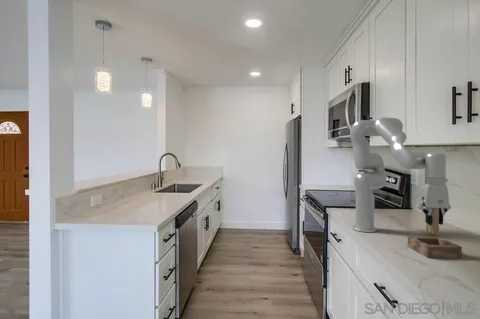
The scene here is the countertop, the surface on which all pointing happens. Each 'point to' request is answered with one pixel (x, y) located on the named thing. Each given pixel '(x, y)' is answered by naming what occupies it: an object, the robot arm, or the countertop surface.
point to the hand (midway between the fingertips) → (434, 223)
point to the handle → (434, 219)
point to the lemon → (431, 233)
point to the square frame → (435, 247)
